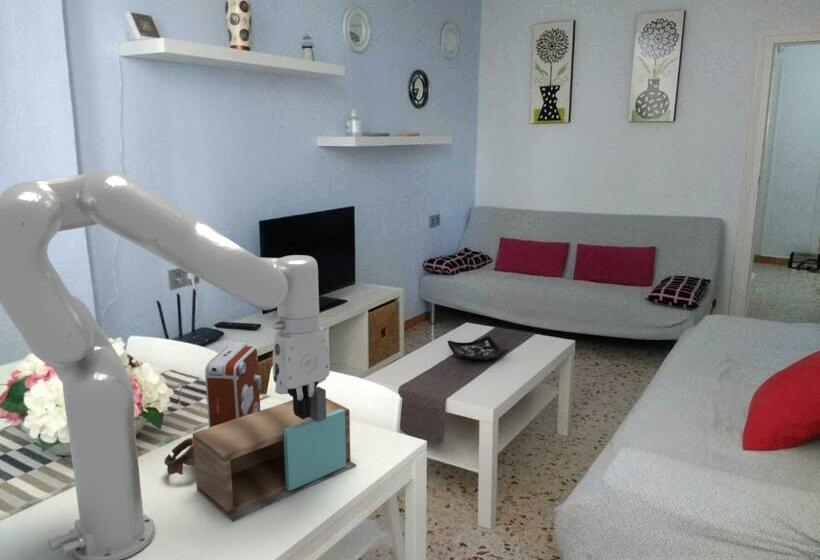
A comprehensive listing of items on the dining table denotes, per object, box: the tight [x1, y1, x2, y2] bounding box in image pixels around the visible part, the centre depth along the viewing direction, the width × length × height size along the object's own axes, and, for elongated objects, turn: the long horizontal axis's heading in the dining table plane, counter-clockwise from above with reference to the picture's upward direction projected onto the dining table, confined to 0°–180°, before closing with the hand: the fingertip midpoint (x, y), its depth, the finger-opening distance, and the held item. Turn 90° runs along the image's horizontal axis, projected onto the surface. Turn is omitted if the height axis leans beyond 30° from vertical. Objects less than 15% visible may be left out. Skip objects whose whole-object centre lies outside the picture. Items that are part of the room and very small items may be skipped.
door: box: [283, 386, 346, 491], centre depth 123 cm, size 14×2×18 cm, turn 134°
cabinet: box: [192, 397, 357, 522], centre depth 125 cm, size 28×14×12 cm, turn 134°
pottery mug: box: [164, 437, 195, 475], centre depth 129 cm, size 12×10×8 cm
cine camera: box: [204, 342, 262, 428], centre depth 144 cm, size 9×19×20 cm, turn 174°
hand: (302, 415), depth 120 cm, fingers closed
